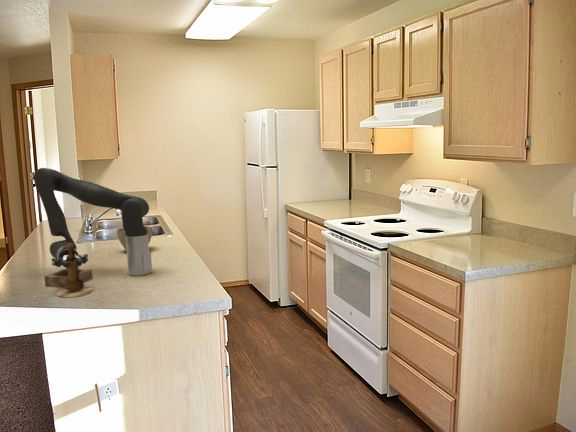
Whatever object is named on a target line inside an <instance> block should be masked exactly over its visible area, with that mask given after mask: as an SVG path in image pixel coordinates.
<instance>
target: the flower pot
mask: <svg viewBox="0 0 576 432" xmlns="http://www.w3.org/2000/svg"><path fill="white" fill-rule="evenodd" d="M144 226H145V227H146V228H147V232H148V245H149V244H150V242H151V239H152V235H153V227H152V226H150V225H144ZM116 235H117V238H118V240H119V243H120V244H121V245H122V247H123V248H124V249H125V251H127V248H126V234H125V231H124V229H123V227H121V228H118V229H116Z"/></svg>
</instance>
